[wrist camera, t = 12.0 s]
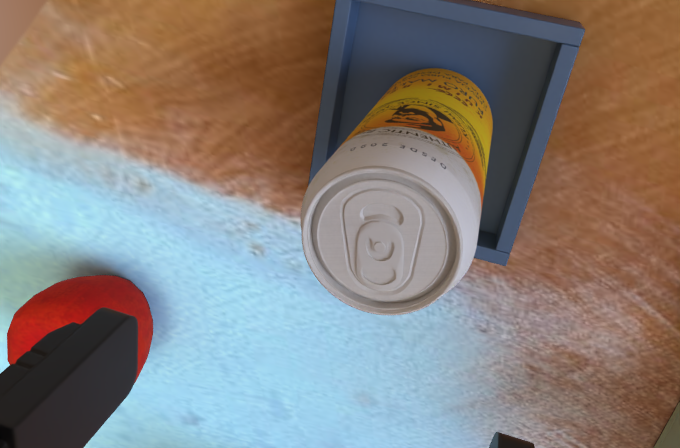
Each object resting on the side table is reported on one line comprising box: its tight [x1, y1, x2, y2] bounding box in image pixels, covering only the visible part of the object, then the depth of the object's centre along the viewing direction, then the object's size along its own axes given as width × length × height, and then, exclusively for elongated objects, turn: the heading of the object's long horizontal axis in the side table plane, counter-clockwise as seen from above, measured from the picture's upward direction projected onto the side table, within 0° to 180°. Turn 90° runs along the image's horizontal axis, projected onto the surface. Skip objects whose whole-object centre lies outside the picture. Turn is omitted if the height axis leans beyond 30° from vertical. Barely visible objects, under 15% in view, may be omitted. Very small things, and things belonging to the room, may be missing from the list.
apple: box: [7, 275, 153, 383], centre depth 42 cm, size 9×9×8 cm
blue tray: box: [308, 0, 585, 266], centre depth 32 cm, size 13×12×3 cm
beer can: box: [301, 68, 493, 315], centre depth 26 cm, size 6×6×15 cm
